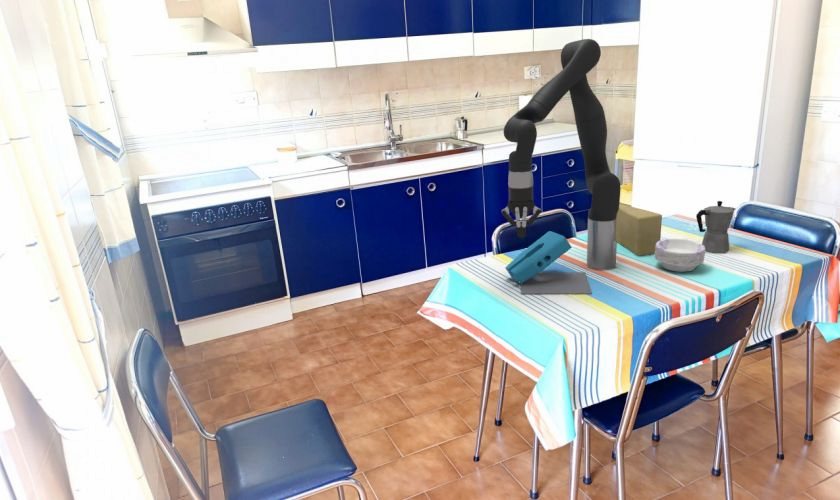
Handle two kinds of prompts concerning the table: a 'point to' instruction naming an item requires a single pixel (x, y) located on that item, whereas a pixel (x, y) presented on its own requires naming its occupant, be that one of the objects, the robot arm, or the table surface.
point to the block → (538, 256)
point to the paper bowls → (679, 254)
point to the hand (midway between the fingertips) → (521, 237)
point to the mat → (557, 283)
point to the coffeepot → (716, 227)
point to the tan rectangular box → (638, 229)
